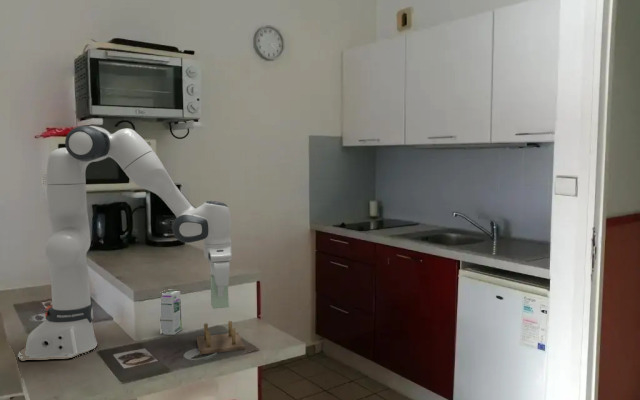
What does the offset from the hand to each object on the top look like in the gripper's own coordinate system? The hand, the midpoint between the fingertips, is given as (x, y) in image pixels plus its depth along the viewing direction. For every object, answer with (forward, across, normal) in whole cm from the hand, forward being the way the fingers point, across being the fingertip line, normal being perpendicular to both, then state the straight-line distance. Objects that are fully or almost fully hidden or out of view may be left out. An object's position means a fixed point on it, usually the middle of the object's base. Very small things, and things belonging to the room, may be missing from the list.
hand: (219, 293), depth 172 cm
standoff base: (+17, 0, 0) cm, 17 cm away
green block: (+4, 0, 0) cm, 4 cm away
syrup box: (+17, -18, -15) cm, 29 cm away
